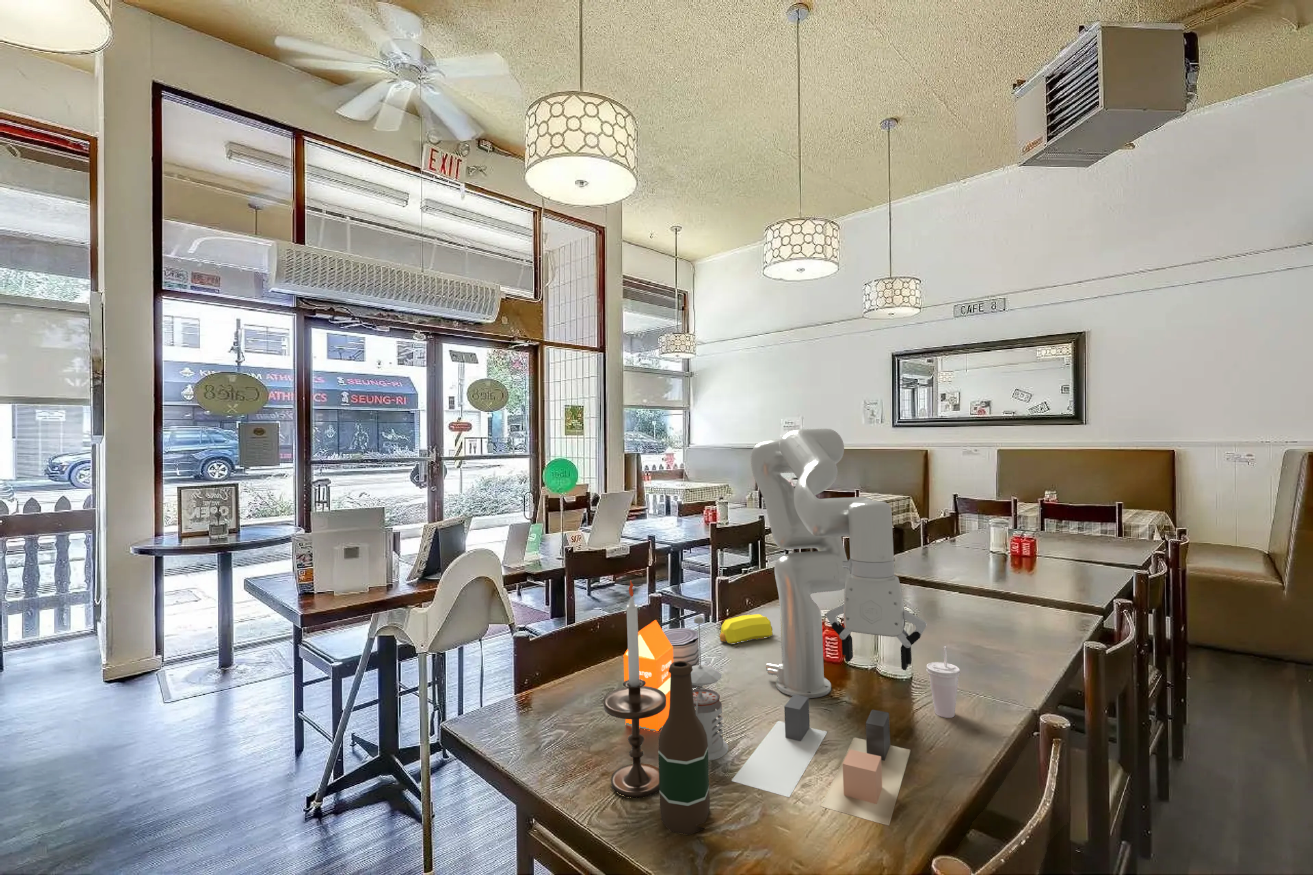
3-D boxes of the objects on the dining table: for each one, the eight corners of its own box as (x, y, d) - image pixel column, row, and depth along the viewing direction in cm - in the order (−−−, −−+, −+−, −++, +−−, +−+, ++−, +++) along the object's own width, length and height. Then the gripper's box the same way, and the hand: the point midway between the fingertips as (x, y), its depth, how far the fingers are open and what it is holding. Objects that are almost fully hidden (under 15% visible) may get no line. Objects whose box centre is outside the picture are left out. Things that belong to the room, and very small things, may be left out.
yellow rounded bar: (713, 640, 173) (726, 648, 166) (713, 617, 173) (726, 624, 166) (764, 631, 180) (779, 638, 173) (764, 609, 181) (778, 615, 174)
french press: (733, 737, 115) (729, 610, 115) (720, 769, 104) (715, 628, 104) (685, 731, 118) (681, 607, 119) (667, 761, 107) (663, 624, 108)
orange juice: (675, 713, 126) (672, 620, 126) (658, 732, 118) (655, 633, 118) (643, 707, 129) (640, 617, 130) (624, 725, 121) (621, 629, 122)
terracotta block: (843, 795, 93) (842, 763, 93) (850, 779, 98) (849, 749, 98) (876, 803, 91) (875, 771, 91) (882, 787, 95) (881, 756, 95)
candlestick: (663, 803, 94) (656, 587, 95) (598, 799, 96) (592, 586, 97) (673, 767, 105) (666, 572, 106) (614, 763, 107) (608, 572, 107)
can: (701, 692, 136) (699, 641, 137) (652, 694, 137) (651, 642, 137) (698, 673, 148) (697, 626, 148) (654, 674, 148) (652, 627, 148)
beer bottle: (658, 806, 94) (653, 656, 94) (706, 802, 94) (701, 653, 95) (662, 838, 86) (657, 675, 86) (714, 833, 87) (709, 671, 87)
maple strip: (820, 812, 91) (819, 767, 91) (854, 742, 111) (852, 705, 111) (889, 832, 86) (887, 784, 86) (910, 755, 106) (909, 716, 106)
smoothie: (966, 721, 118) (963, 652, 119) (932, 719, 120) (929, 651, 120) (956, 707, 125) (954, 641, 125) (924, 705, 126) (922, 640, 126)
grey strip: (731, 786, 98) (730, 744, 98) (778, 725, 119) (777, 691, 119) (789, 803, 93) (787, 759, 93) (827, 736, 114) (826, 700, 114)
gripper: (819, 569, 108) (823, 662, 107) (921, 576, 99) (926, 678, 98) (829, 562, 114) (833, 650, 114) (926, 568, 105) (930, 663, 105)
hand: (876, 663), depth 106 cm, fingers open, 9 cm apart
